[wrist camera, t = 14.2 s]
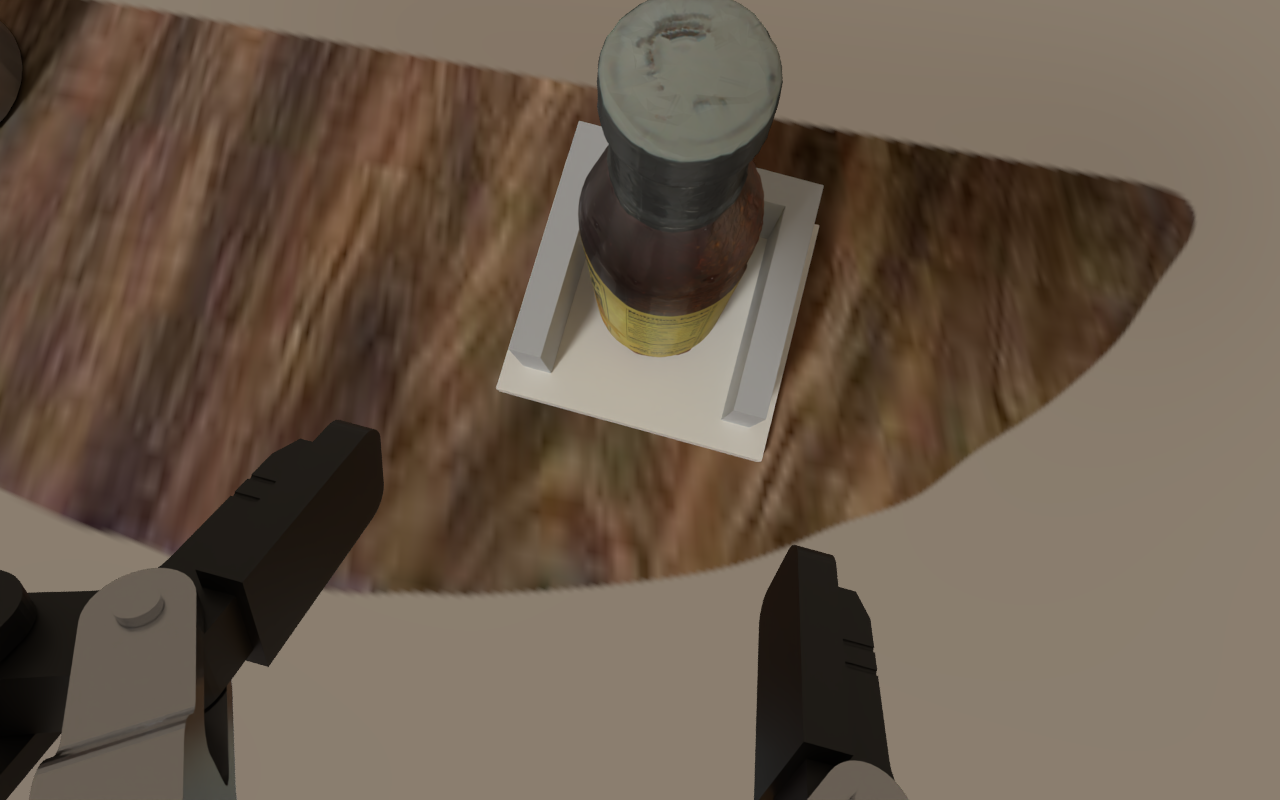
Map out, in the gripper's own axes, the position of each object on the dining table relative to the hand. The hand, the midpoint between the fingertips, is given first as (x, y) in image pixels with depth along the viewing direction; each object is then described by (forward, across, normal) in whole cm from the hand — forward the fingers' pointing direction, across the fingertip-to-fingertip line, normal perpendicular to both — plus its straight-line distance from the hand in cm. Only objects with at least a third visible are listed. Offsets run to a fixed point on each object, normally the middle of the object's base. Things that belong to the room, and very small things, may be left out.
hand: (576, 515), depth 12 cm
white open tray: (+22, 0, +7) cm, 23 cm away
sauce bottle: (+21, 0, +7) cm, 22 cm away
